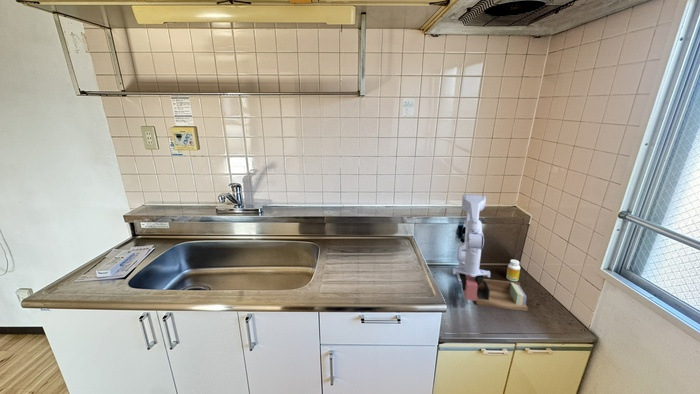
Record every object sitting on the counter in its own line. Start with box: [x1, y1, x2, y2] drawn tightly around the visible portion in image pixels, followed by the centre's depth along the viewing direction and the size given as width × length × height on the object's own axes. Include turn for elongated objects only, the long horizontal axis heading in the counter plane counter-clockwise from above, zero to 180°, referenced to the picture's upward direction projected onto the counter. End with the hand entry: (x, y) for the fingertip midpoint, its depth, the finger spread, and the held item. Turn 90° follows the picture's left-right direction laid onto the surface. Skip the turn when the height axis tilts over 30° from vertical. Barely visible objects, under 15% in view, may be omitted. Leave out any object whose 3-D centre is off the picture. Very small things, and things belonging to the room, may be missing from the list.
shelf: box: [475, 278, 529, 312], centre depth 125 cm, size 12×20×6 cm, turn 78°
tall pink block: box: [462, 274, 478, 302], centre depth 120 cm, size 9×4×7 cm, turn 168°
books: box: [509, 283, 527, 305], centre depth 124 cm, size 9×4×5 cm, turn 168°
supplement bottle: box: [506, 259, 521, 282], centre depth 141 cm, size 5×5×10 cm
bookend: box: [477, 280, 490, 300], centre depth 128 cm, size 8×4×5 cm, turn 168°
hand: (469, 289), depth 120 cm, fingers closed on tall pink block, 4 cm apart
